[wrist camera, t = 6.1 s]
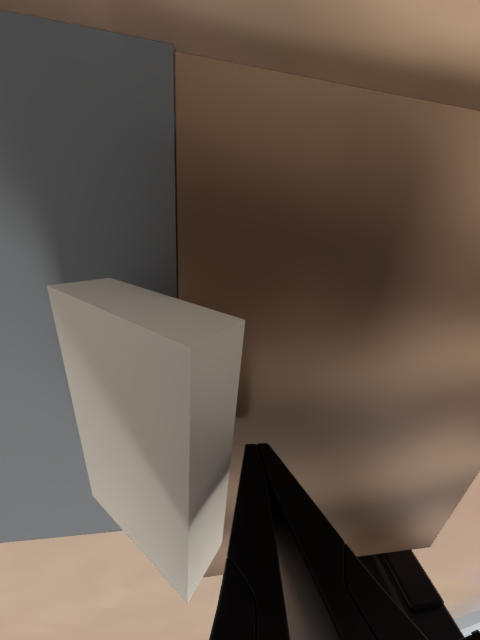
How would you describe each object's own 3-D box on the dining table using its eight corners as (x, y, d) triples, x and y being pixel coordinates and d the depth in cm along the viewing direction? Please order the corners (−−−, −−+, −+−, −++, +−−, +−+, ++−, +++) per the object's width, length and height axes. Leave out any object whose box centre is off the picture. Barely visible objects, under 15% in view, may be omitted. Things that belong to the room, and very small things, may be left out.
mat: (181, 520, 17) (180, 524, 17) (-38, 541, 15) (-43, 547, 15) (173, 50, 8) (172, 44, 8) (-398, -62, 6) (-429, -77, 6)
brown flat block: (387, 485, 19) (429, 546, 15) (187, 502, 17) (182, 580, 13) (529, 176, 11) (688, 152, 7) (188, 124, 9) (174, 51, 5)
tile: (221, 543, 10) (187, 603, 8) (131, 463, 12) (92, 495, 11) (245, 320, 6) (191, 348, 4) (110, 277, 9) (46, 285, 7)
